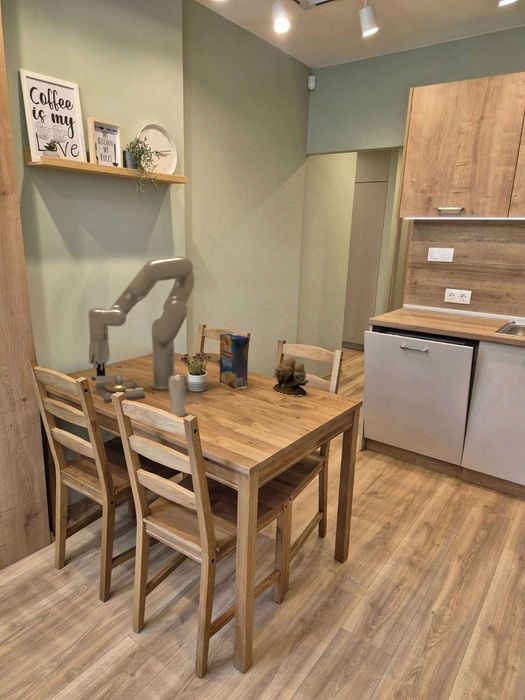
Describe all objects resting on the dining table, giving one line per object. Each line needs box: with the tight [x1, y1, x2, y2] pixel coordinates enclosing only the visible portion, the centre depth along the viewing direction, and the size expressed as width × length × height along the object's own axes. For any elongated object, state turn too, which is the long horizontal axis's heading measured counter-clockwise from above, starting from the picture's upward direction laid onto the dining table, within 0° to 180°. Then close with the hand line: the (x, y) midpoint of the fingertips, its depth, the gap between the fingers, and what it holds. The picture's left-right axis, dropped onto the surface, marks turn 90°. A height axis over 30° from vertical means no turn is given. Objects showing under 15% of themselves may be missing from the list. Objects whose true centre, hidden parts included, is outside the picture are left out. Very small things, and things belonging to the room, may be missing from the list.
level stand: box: [95, 378, 146, 403], centre depth 195 cm, size 16×24×4 cm, turn 28°
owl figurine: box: [272, 356, 310, 397], centre depth 202 cm, size 18×12×17 cm, turn 53°
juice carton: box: [219, 332, 249, 389], centre depth 206 cm, size 12×8×24 cm, turn 39°
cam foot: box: [91, 374, 134, 393], centre depth 194 cm, size 18×12×6 cm
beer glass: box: [167, 374, 188, 418], centre depth 171 cm, size 7×7×15 cm
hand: (101, 377), depth 196 cm, fingers closed
